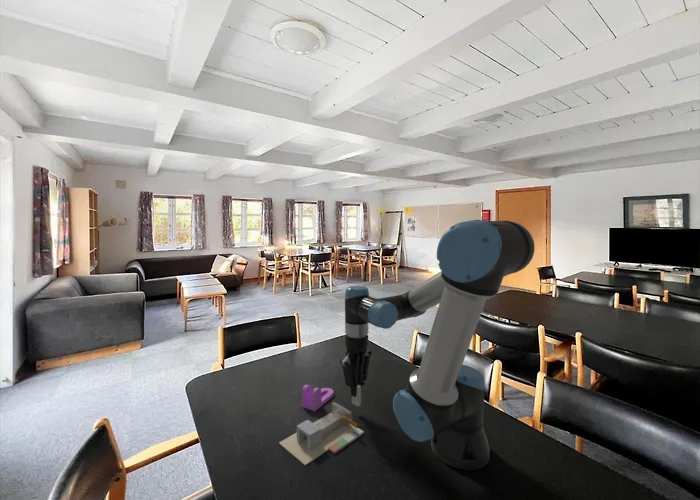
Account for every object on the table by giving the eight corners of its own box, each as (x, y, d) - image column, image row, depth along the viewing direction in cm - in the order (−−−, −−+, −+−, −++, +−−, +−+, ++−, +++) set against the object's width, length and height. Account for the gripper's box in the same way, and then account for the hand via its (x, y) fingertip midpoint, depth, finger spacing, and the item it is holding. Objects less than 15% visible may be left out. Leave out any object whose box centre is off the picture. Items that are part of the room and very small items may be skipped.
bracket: (314, 411, 106) (314, 391, 105) (301, 407, 109) (301, 387, 108) (336, 393, 117) (336, 375, 116) (323, 389, 120) (323, 372, 119)
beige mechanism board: (363, 433, 95) (363, 417, 94) (311, 470, 80) (310, 452, 80) (330, 413, 105) (330, 399, 104) (278, 443, 90) (278, 427, 90)
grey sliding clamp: (361, 432, 94) (361, 417, 94) (327, 456, 85) (327, 439, 84) (334, 415, 103) (333, 401, 102) (300, 435, 93) (300, 420, 93)
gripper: (361, 326, 110) (361, 392, 112) (333, 336, 101) (334, 407, 103) (378, 332, 105) (377, 400, 107) (351, 342, 95) (350, 417, 97)
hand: (356, 404), depth 105 cm, fingers closed
